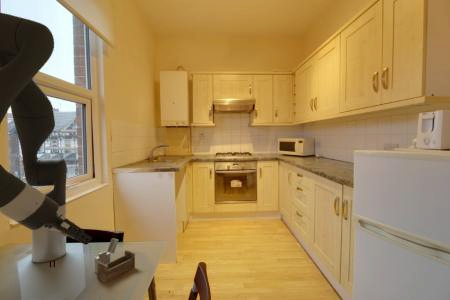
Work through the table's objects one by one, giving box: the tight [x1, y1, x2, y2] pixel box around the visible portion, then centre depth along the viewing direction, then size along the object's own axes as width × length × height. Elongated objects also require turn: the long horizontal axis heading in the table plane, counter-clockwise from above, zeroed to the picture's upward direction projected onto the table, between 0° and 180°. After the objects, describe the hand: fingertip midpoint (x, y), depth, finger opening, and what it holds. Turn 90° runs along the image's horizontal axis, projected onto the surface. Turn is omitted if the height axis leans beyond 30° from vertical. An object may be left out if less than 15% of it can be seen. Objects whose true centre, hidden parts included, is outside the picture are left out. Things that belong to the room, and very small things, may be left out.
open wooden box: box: [97, 249, 136, 283], centre depth 67 cm, size 4×9×4 cm, turn 149°
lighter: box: [94, 237, 119, 274], centre depth 70 cm, size 7×2×8 cm, turn 155°
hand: (80, 238), depth 63 cm, fingers open, 8 cm apart
